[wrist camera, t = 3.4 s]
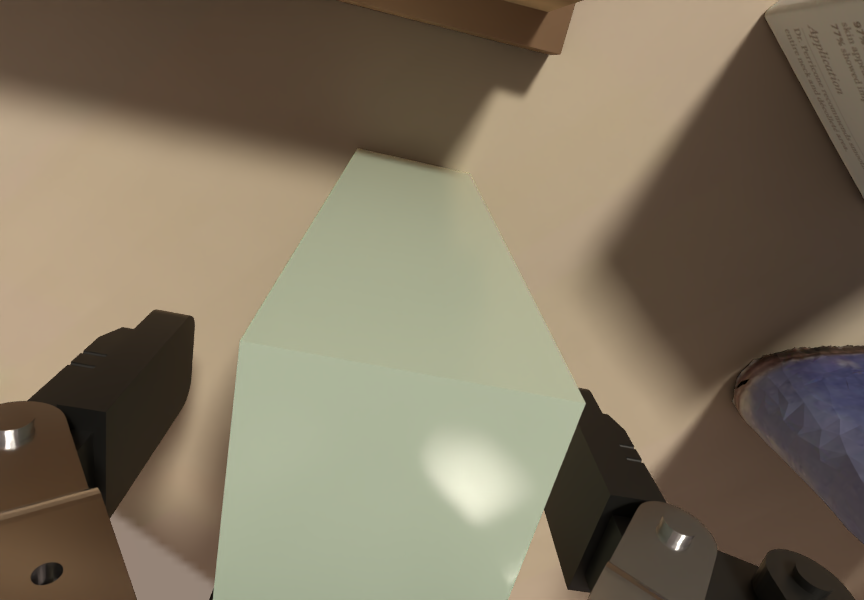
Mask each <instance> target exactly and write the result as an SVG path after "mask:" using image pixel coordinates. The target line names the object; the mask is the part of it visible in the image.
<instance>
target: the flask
mask: <svg viewBox="0 0 864 600" xmlns="http://www.w3.org/2000/svg"><path fill="white" fill-rule="evenodd" d="M769 355H770V356H769ZM769 355H763V356H764V357H763V358H762V359H755V360H752V361H751V363H750V364H749V366H748V367H746V368H745V369H744V370H742V371H741V373H740V375H739V376H738V377H737V382H736V389H735V390H734V395H735V396H734V399H733V401H732V402H733V404H734V405H735V406H736V408H737V410H738V412H739V414H740V416H741V417H742V418H743V420H744V421H745V422H746V423H747V424H749V425H750V426H751V427H752V428H753V429H754V430H755V431H756V432H757V434H758V435H759V436H760V437H761V438H762V439H763V440H764V441H765V442H766V443H767V444H768V445H769V446H770V447H771V448H772V449H773V450H774V451H775V452H776V453H777V454H778V455H779V456H780V457H781V458H782V459H783V460H784V461H785V462H786V463H787V464H788V465H789V466H790V467H791V468H792V469H793V470H794V471H795V472H796V473H797V474H798V475H799V476H800V477H801V478H802V479H803V480H804V481H805V482H806V483H807V484H808V485H809V486H810V487H811V488H812V489H813V490H814V491H815V492H816V494H817V495H818V496H819V497H820V498H821V499H822V500H823V501H824V502H825V503H826V504H827V506H828V507H829V508H830V509H831V510H832V511H833V512H834V514H835V515H836V516H837V517H838V518H839V520H840V521H841V522H842V523H843V524H844V526H845V527H846V528H847V529H848V530H849V531H850V532H851V533H852V534H853V535H854V536H856V537H857V538H858V539H859V540H860V541H861V542H862V543H863V544H864V346H853V345H850V346H849V345H847V346H845V347H839V346H838V347H836V346H833V347H831V346H828V347H825V346H821V347H818V348H817V347H815V348H810V347H809V348H806V347H800V348H795V347H794V349H792V350H786V351H784V352H780V353H775V354H773V355H772V354H769ZM747 379H749V381H748V382H747V383H746V384H745V385H744V384H743V385H742V386H740V387H739V388H738V389H737V386H738V384H739V383H740V382H741V381H743V380H747Z"/></svg>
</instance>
